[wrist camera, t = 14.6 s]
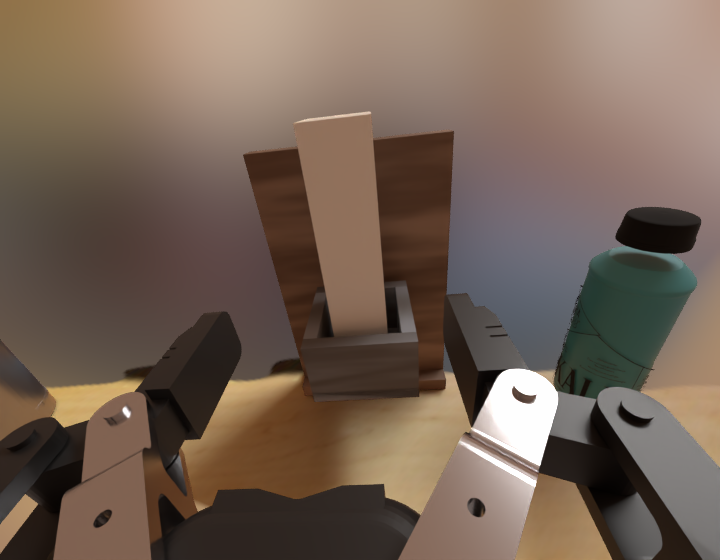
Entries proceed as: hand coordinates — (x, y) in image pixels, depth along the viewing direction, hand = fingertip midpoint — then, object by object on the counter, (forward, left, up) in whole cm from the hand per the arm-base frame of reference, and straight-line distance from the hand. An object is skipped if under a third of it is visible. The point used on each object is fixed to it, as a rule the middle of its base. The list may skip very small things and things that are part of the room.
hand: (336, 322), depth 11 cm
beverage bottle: (+24, -3, -22) cm, 33 cm away
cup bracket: (+7, +10, -22) cm, 25 cm away
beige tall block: (+6, +9, -12) cm, 16 cm away
